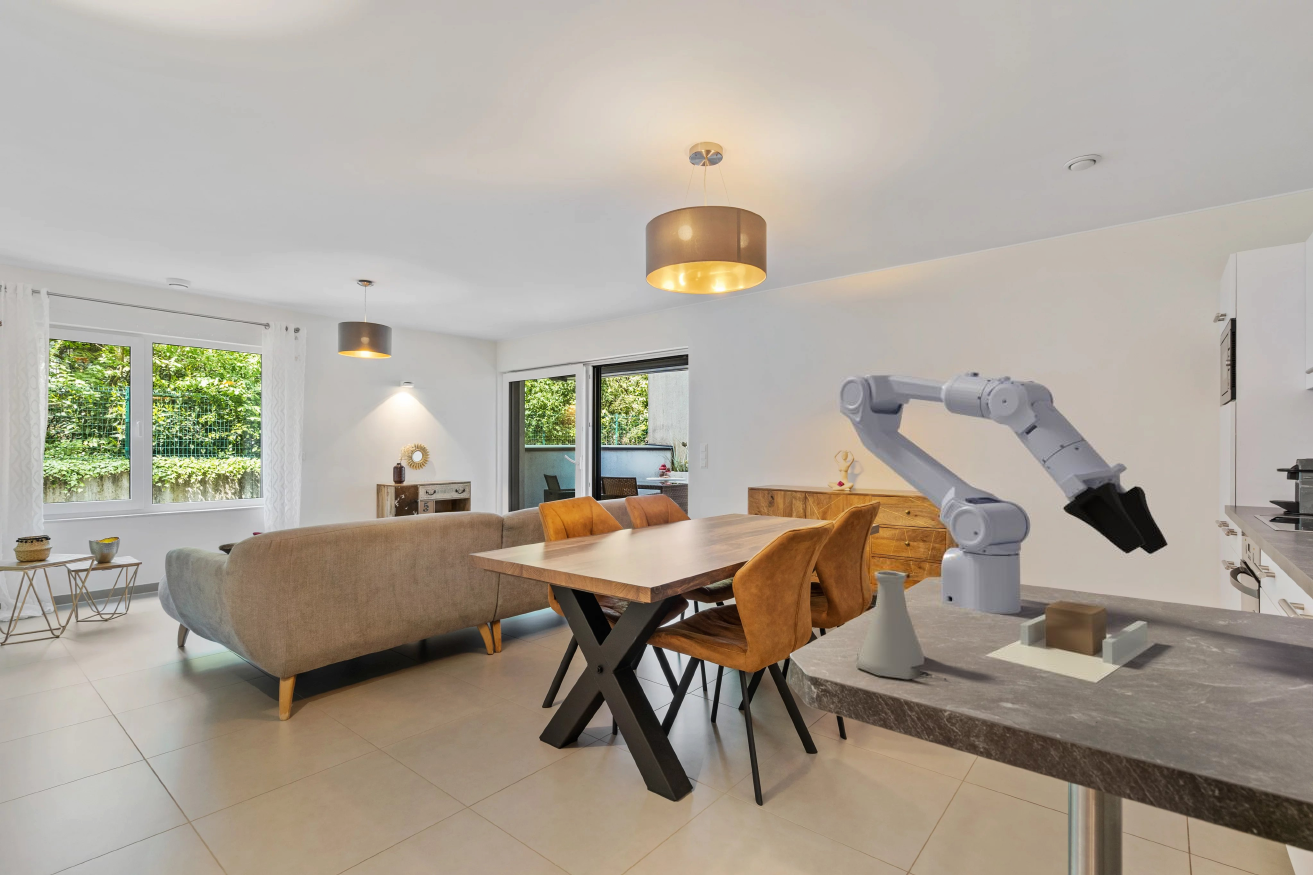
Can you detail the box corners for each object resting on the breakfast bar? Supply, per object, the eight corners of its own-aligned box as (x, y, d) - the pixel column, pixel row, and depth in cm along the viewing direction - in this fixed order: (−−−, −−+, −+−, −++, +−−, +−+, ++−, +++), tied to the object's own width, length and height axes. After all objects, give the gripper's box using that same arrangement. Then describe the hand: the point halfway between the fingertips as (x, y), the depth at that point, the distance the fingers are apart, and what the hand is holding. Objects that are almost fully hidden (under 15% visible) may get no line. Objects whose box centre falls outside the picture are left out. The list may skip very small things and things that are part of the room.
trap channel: (985, 666, 66) (984, 634, 66) (1055, 633, 78) (1054, 606, 78) (1096, 695, 58) (1095, 658, 58) (1155, 653, 70) (1154, 623, 70)
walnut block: (1045, 646, 69) (1045, 606, 69) (1061, 638, 72) (1060, 600, 72) (1092, 656, 65) (1091, 614, 66) (1106, 648, 68) (1105, 607, 68)
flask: (843, 669, 65) (842, 573, 66) (873, 653, 71) (872, 564, 71) (913, 686, 61) (912, 583, 61) (939, 667, 66) (938, 572, 66)
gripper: (1070, 427, 72) (1161, 527, 64) (1116, 441, 80) (1201, 531, 72) (1018, 465, 76) (1098, 563, 68) (1067, 474, 84) (1143, 562, 77)
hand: (1147, 549), depth 71 cm, fingers open, 7 cm apart
